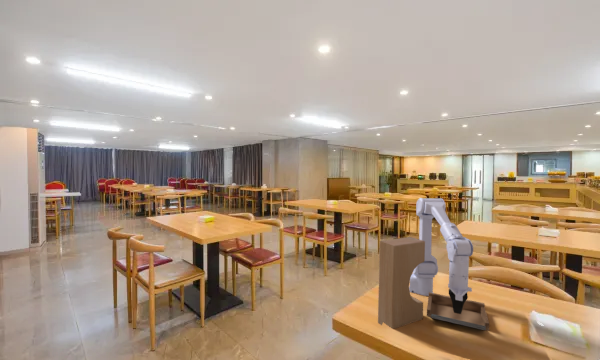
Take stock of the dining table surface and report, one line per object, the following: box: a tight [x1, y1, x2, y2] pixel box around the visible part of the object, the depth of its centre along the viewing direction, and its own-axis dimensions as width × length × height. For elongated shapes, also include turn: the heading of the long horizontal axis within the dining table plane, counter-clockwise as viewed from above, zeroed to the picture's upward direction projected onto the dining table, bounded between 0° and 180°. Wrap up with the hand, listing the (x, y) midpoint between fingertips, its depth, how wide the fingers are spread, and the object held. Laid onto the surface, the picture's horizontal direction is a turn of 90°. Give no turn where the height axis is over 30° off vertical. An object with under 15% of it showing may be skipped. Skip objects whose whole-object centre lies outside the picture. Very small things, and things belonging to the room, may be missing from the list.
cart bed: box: [426, 292, 490, 332], centre depth 104 cm, size 19×14×5 cm
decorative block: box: [377, 236, 425, 330], centre depth 100 cm, size 15×8×30 cm, turn 116°
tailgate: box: [430, 314, 487, 331], centre depth 96 cm, size 16×1×6 cm
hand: (457, 312), depth 95 cm, fingers closed
